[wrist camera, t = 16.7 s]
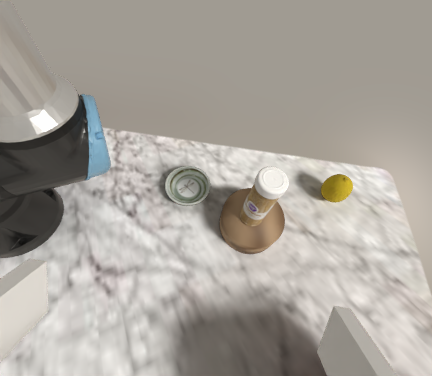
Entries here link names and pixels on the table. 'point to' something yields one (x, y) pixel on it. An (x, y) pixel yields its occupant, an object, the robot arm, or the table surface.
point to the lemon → (336, 188)
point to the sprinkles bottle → (263, 195)
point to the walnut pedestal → (249, 235)
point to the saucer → (187, 185)
